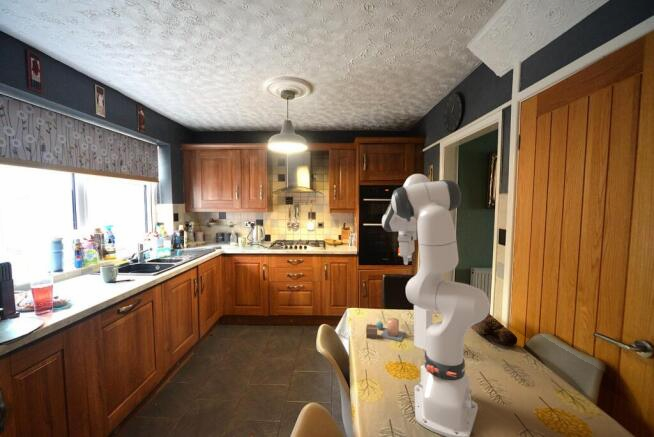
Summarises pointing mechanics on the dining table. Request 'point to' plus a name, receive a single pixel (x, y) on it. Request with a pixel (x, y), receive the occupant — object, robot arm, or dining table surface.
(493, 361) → the dining table surface
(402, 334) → the coaster
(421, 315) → the milk
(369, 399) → the dining table surface
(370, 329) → the walnut block
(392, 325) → the pink rounded cylinder
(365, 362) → the dining table surface
